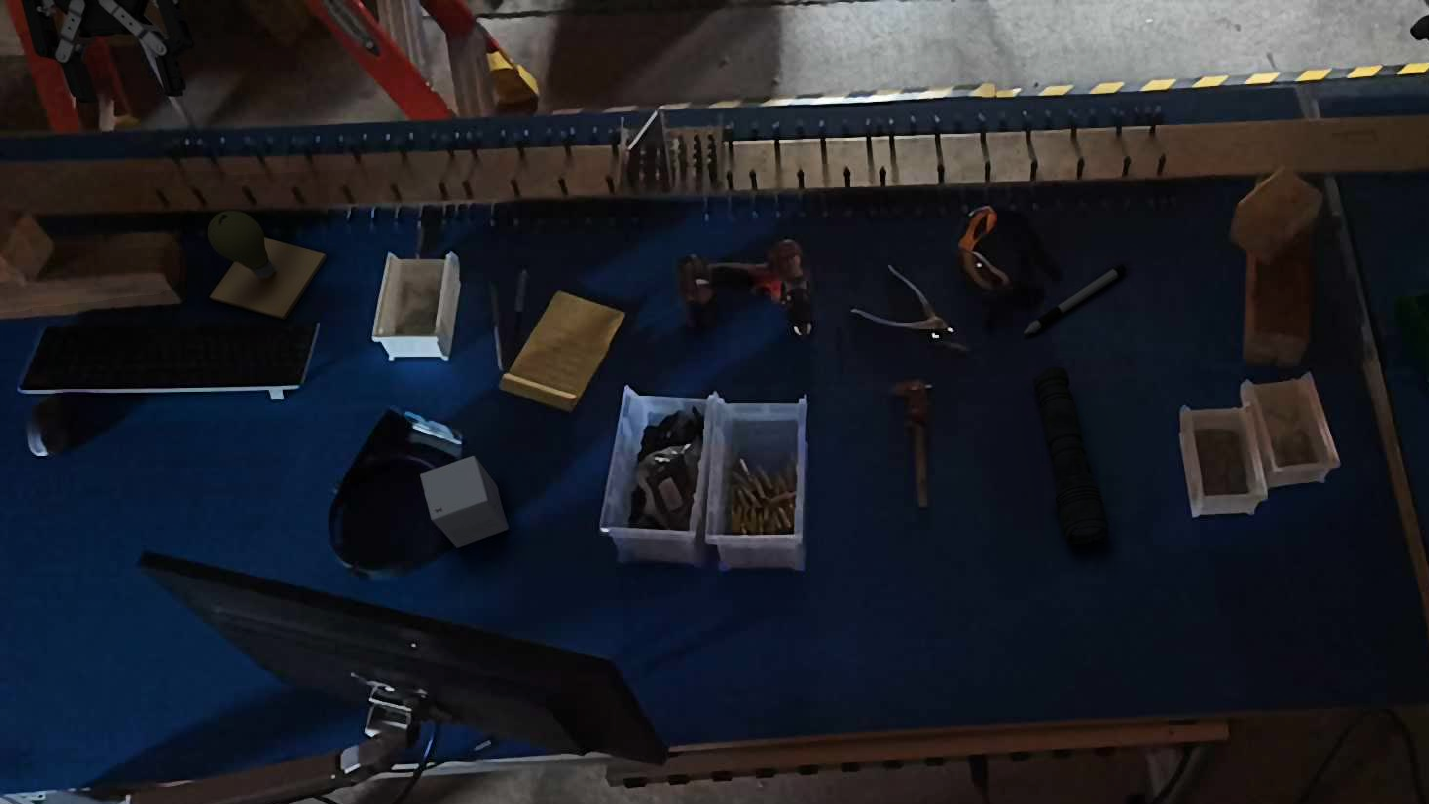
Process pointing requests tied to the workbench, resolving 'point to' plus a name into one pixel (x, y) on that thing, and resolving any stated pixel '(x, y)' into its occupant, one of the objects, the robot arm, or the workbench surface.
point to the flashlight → (1069, 461)
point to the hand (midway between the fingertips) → (132, 99)
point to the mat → (271, 280)
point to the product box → (464, 501)
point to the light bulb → (240, 241)
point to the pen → (1075, 299)
